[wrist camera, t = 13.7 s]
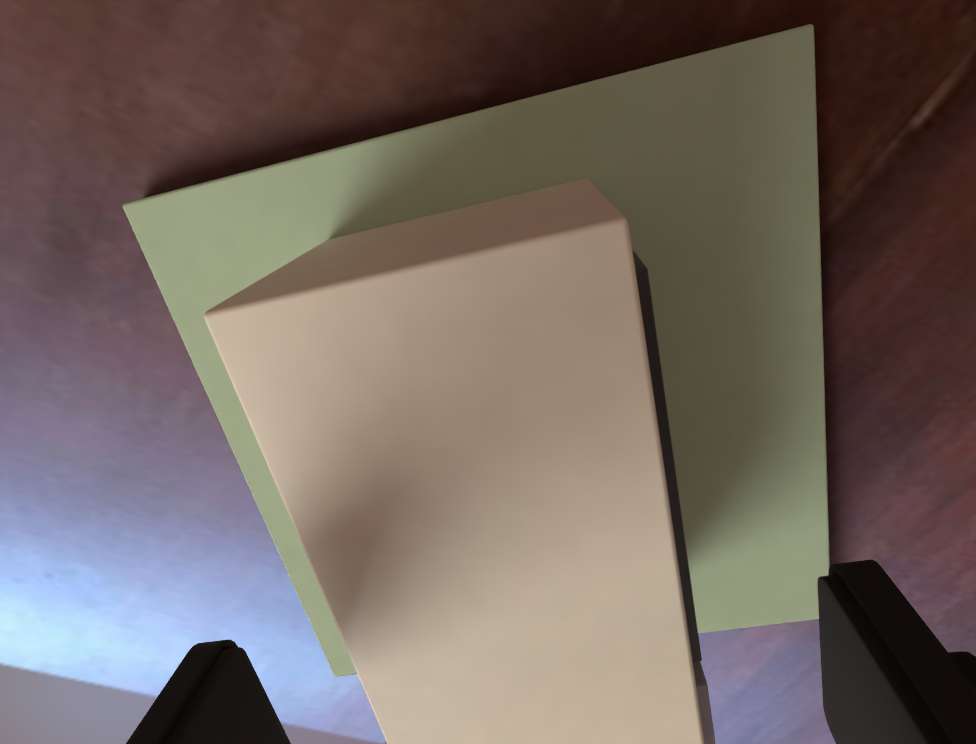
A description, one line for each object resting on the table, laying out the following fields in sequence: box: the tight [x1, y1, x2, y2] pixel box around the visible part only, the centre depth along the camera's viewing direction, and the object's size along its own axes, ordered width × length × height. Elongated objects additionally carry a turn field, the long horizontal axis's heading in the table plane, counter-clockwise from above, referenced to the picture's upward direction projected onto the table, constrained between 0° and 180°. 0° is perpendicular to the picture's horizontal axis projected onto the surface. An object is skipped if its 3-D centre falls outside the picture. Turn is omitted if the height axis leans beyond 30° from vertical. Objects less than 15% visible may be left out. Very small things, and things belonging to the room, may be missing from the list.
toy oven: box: [204, 179, 715, 744], centre depth 13 cm, size 7×12×6 cm, turn 13°
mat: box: [123, 24, 830, 677], centre depth 17 cm, size 16×16×1 cm
